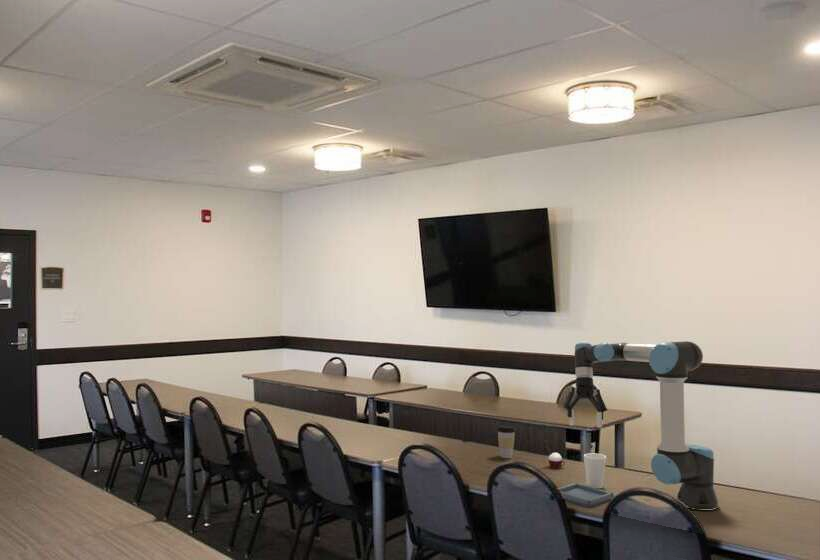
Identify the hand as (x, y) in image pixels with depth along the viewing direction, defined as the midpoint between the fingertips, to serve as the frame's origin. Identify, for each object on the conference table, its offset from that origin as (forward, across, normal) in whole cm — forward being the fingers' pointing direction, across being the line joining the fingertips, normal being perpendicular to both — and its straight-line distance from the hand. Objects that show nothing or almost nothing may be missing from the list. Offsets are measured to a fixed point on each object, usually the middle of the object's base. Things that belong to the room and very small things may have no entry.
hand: (585, 426), depth 298 cm
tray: (+30, +8, +10) cm, 33 cm away
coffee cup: (+12, +13, -55) cm, 58 cm away
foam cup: (+25, -4, -2) cm, 26 cm away
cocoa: (+16, -2, -32) cm, 36 cm away
